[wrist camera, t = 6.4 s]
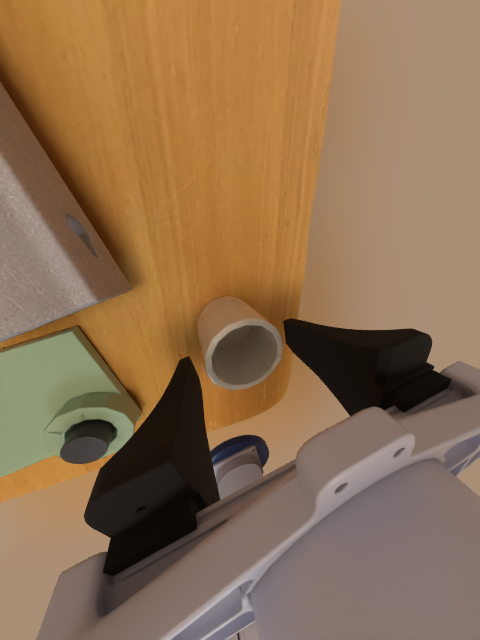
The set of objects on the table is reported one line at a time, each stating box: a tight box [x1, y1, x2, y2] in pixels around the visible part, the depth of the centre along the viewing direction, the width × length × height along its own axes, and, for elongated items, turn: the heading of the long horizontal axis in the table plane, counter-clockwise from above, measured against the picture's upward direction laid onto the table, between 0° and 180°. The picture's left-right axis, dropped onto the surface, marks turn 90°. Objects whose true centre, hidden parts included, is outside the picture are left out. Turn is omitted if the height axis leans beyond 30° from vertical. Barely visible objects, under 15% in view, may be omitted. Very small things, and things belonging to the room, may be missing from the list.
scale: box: [0, 326, 142, 478], centre depth 13 cm, size 11×13×2 cm
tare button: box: [60, 419, 114, 464], centre depth 13 cm, size 3×3×2 cm
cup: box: [197, 296, 283, 390], centre depth 14 cm, size 6×6×6 cm
